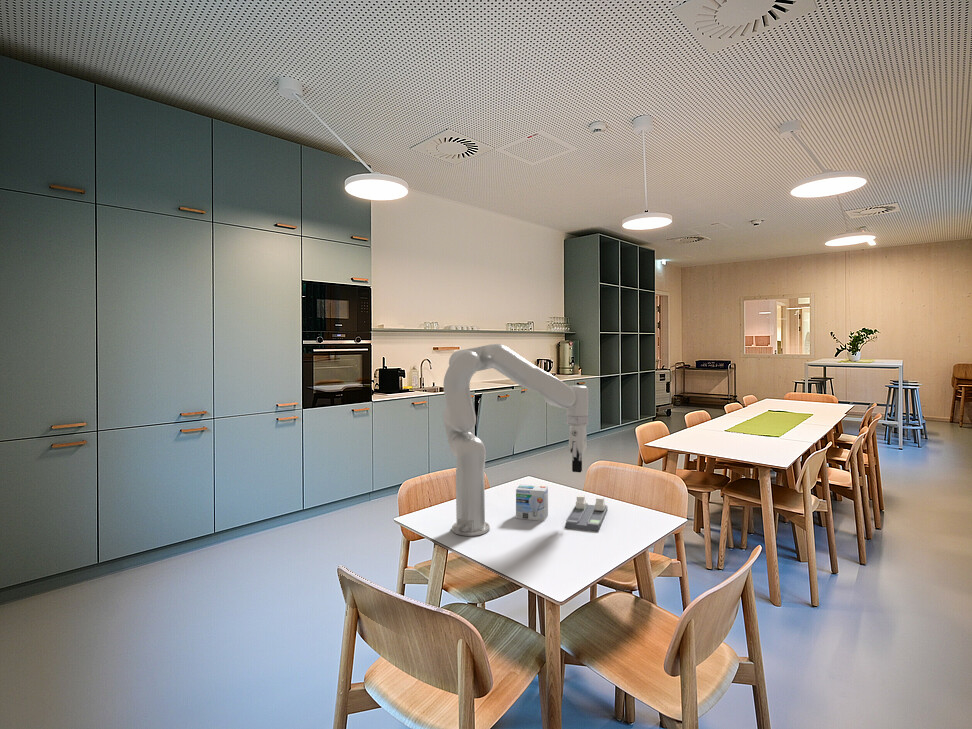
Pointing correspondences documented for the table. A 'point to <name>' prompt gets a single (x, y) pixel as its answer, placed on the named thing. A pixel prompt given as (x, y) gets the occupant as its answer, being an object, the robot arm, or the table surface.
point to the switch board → (586, 518)
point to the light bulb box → (532, 502)
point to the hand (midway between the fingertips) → (577, 471)
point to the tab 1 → (580, 502)
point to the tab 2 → (600, 504)
